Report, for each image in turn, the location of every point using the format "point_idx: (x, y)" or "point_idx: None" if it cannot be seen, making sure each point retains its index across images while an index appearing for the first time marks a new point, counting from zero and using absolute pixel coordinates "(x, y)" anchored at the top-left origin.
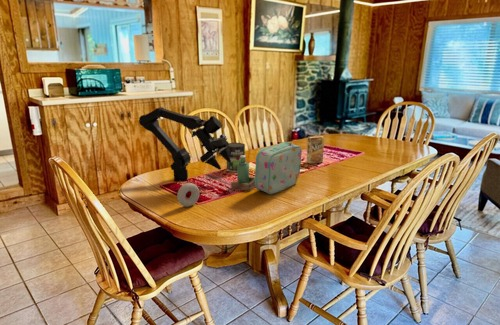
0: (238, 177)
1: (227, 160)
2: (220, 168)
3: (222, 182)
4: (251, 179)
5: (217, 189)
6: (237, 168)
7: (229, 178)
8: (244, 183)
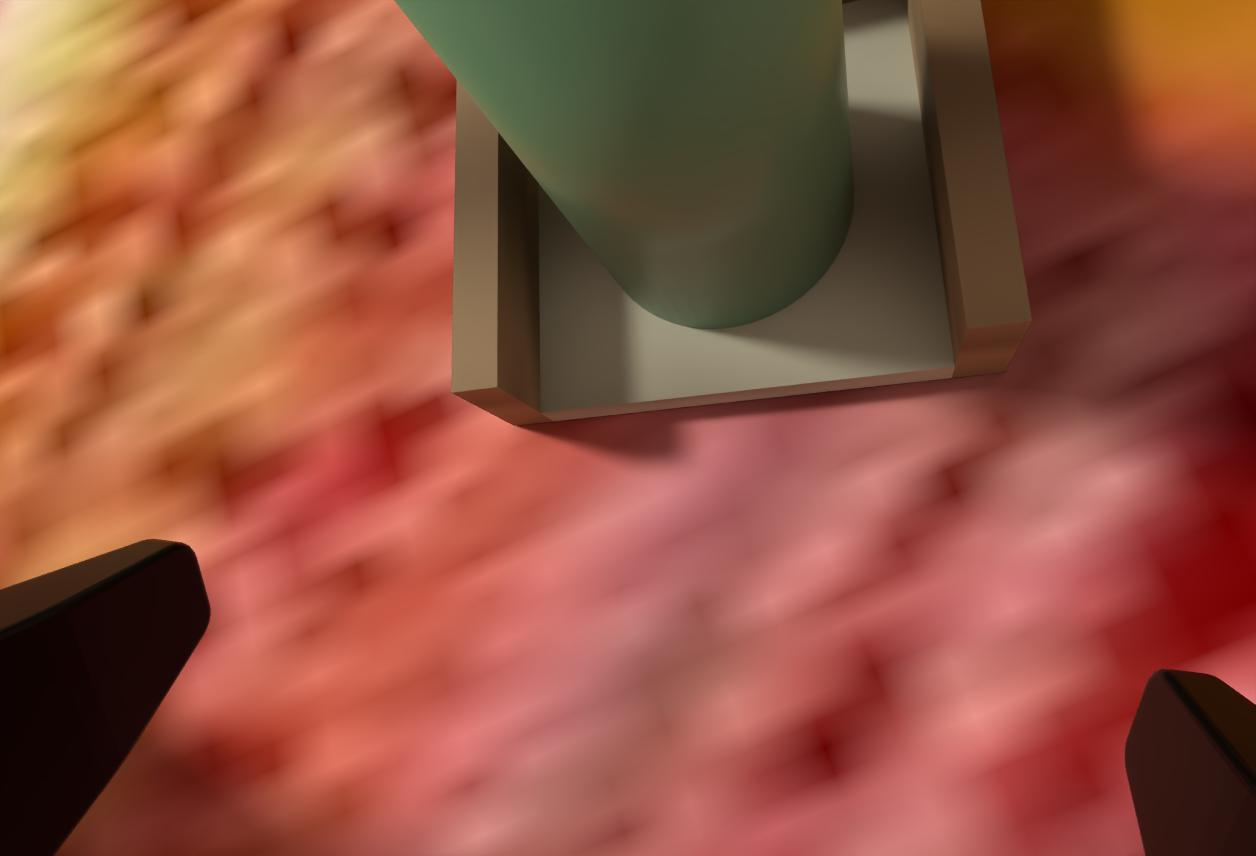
0: (825, 151)
1: (122, 718)
2: (1233, 702)
3: (678, 753)
4: None
5: (1228, 677)
6: (742, 21)
7: (387, 693)
8: (938, 3)
